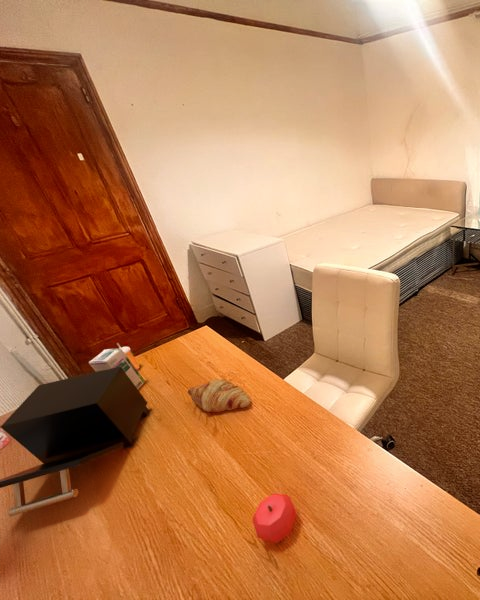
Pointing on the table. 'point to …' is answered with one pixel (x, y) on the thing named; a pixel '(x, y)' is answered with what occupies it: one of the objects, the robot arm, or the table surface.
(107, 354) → the syrup box
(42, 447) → the oven
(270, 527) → the apple
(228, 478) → the table surface
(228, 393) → the croissant
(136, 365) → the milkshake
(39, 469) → the oven door
